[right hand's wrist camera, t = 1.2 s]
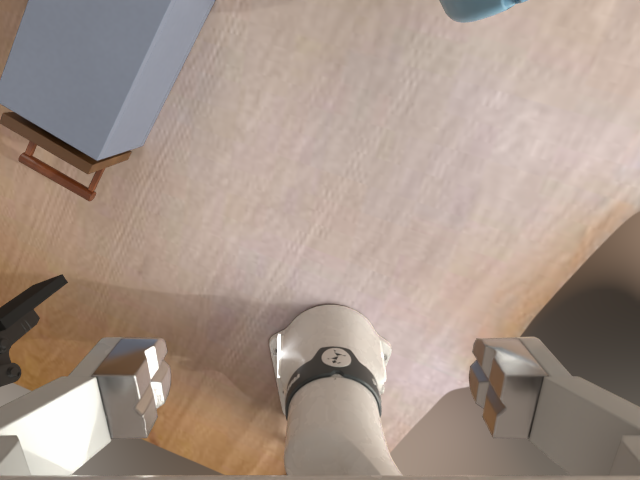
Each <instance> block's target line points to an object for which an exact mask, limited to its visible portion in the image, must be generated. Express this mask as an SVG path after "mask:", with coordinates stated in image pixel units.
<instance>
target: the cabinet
mask: <svg viewBox="0 0 640 480" xmlns="http://www.w3.org/2000/svg"><path fill="white" fill-rule="evenodd" d="M214 2H215V0H29V1H28V3H27V6H26V9H25V12H24V15H23V17H22V20H21V23H20V26H19V29H18V32H17V34H16V37H15V40H14V43H13V46H12V48H11V51H10V54H9V57H8V60H7V63H6V65H5V68H4V71H3V74H2V77H1V79H0V104H2V105H3V106H5V107H7V108H8V109H10V110H12V111H13V112H15V113H17V114H19V115H20V116H22V117H24V118H25V119H27V120H29V121H30V122H32V123H34V124H35V125H37V126H39V127H41V128H42V129H44V130H46V131H47V132H49V133H51V134H52V135H54V136H56V137H58V138H59V139H61V140H63V141H64V142H66V143H68V144H69V145H71V146H73V147H75V148H76V149H78V150H80V151H81V152H83V153H85V154H86V155H88V156H90V157H91V158H93V159H95V160H97V161H98V160H101V159H104V158H107V157H110V156H113V155H116V154H119V153H123V152H126V151H129V150H132V149H135V148H138V147H141V146H143V145H144V143H145V141H146V139H147V137H148V135H149V133H150V131H151V129H152V127H153V125H154V123H155V121H156V119H157V117H158V115H159V113H160V111H161V109H162V107H163V105H164V103H165V101H166V99H167V97H168V95H169V93H170V91H171V89H172V87H173V85H174V83H175V81H176V79H177V77H178V75H179V73H180V70H181V68H182V66H183V64H184V62H185V60H186V58H187V56H188V54H189V52H190V50H191V48H192V46H193V44H194V42H195V40H196V38H197V36H198V34H199V32H200V30H201V28H202V26H203V24H204V22H205V20H206V18H207V16H208V14H209V12H210V10H211V8H212V6H213V4H214Z"/></svg>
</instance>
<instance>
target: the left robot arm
mask: <svg viewBox="0 0 640 480" xmlns="http://www.w3.org/2000/svg"><path fill="white" fill-rule="evenodd" d="M439 1H440V3H441V5H442V7H443V9H444V11H445V13H446V14H447V15H448V16H449V17H450V18H451V19H452V20H454V21H457V22H473V21H477V20H481V19H484V18H487V17H490V16H493V15H496V14H498V13H500V12H503V11H505V10H507V9H509V8H511V7H512V6H514V5H515V4H518V3H522V2H525V1H527V0H439ZM66 283H68V282H67V281H66V279H65V278H64V276H63V275H59V276H57V277H54V278H51V279H48V280H46V281H43V282H40V283H38V284H35V285H33V286H31V287H30V288H28V289H27V290H25V291H24V292H22V293H21V294H19V295H18V296H17V297H15V298H14V299H12V300H11V301H9V302H8V303H6V304H5V305H3V306H2V307H1V308H0V387H1V386H4V385H7V384H10V383H13V382H16V381H17V380H18V379H19V378H20V376H21V369H20V367H19V366H18V365H17V364H15V363H11V361H10V358H9V349H10V348H11V345H12V344H13V343H15V342H16V341H17V340H18V339H19V338H21V337H22V336H23V335H24V334H26V332H28V331H29V330H30V329H31V328H33V327H34V326H35V325H36V324H37V323H38V321H39V319H40V318H39V316H38V315H37V314H36V312H35V311H34V308H35V307H36V306H38V305H39V304H40V303H42V302H43V301H44V300H46V299H47V298H48V297H50V296H51V295H52V294H53V293H55V292H56V291H57V290H59V289H60V288H61V287H63V286H64V285H65V284H66Z"/></svg>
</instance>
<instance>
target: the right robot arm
mask: <svg viewBox="0 0 640 480" xmlns="http://www.w3.org/2000/svg"><path fill="white" fill-rule="evenodd" d="M269 347H270V352H271V357H272V362H273V367H274V372H275V377H276V382H277V387H278V392H279V397H280V402H281V407H282V411H283V414H284V415H285V416H286V419H287V429H286V439H285V449H284V466H285V470H286V474H287V475H71V474H72V473H74V472H75V471H76V470H77V469H78V468H79V467H81V466H82V465H83V464H84V463H85V462H87V461H88V460H89V459H90V458H91V457H93V456H94V455H95V454H96V453H97V452H99V451H100V450H101V449H102V448H103V447H105V446H106V445H107V444H108V443H109V442H111V439H133V438H147V437H148V435H149V433H150V431H151V429H152V427H153V425H154V423H155V421H156V419H157V417H158V416H157V410H156V409H157V408H158V407H160V406H161V405H163V404H164V403H165V401H166V399H167V397H168V394H169V390H170V385H171V371H170V366H169V365H168V364H167V363H166V362H165V361H164V360H163V359H164V357H165V356H166V354H167V352H168V351H167V346H166V341H165V340H164V339H163V338H143V337H125V338H124V337H105V338H102V339H101V340H100V341H99V342H98V343H97V344H96V345H95V346H94V347H93V349H92V350H91V351H90V352H89V353H88V354H87V355H86V356H85V358H84V359H83V360H82V361H81V362H80V363H79V364H78V365H77V367H76V368H75V369H74V370H73V371H72V372H71V373H70V374H69V376H68V377H60V378H58V379H56V380H54V381H52V382H50V383H48V384H46V385H43V386H41V387H39V388H37V389H35V390H33V391H31V392H29V393H27V394H25V395H23V396H21V397H19V398H17V399H15V400H13V401H11V402H9V403H7V404H5V405H3V406H1V407H0V480H640V407H639V406H637V405H635V404H632V403H630V402H629V401H627V400H625V399H623V398H620V397H619V396H617V395H615V394H612V393H610V392H608V391H606V390H604V389H602V388H600V387H598V386H596V385H594V384H592V383H590V382H588V381H586V380H584V379H582V378H580V377H572V376H571V374H570V373H569V372H568V371H567V370H566V369H565V368H564V367H563V366H562V364H561V363H560V362H559V361H558V360H557V359H556V358H555V356H554V355H553V354H552V353H551V352H550V351H549V350H548V349H547V348H546V346H545V345H544V344H543V343H542V342H541V341H540V340H539V339H538V338H536V337H515V338H476V340H475V342H474V345H473V351H472V352H473V354H474V356H475V357H476V359H477V360H476V361H475V362H474V363H473V364H472V365H471V366H470V371H469V385H470V390H471V394H472V397H473V399H474V401H475V403H476V404H477V405H479V406H480V407H482V408H483V409H484V410H483V416H482V417H483V419H484V421H485V423H486V425H487V427H488V429H489V431H490V433H491V435H492V437H493V438H507V439H529V441H530V442H531V443H532V444H533V445H534V446H536V447H537V448H538V449H539V450H540V451H542V452H543V453H544V454H545V455H546V456H548V457H549V458H550V459H551V460H552V461H553V462H555V463H556V464H557V465H558V466H560V467H561V468H562V469H563V470H564V471H565V472H567V473H568V474H569V475H402V474H401V472H400V471H399V470H398V468H397V467H396V465H395V463H394V461H393V460H392V458H391V456H390V453H389V450H388V447H387V443H386V440H385V436H384V433H383V429H382V424H381V420H380V417H381V395H380V394H383V393H384V385H383V383H384V382H386V370H385V368H386V365H387V362H388V360H389V357H390V355H391V352H392V349H391V345H390V343H389V342H388V341H386V340H385V339H384V338H382V337H381V336H379V335H378V334H377V333H376V331H375V330H374V328H373V326H372V325H371V323H370V322H369V321H368V320H367V319H366V318H365V317H364V316H363V315H362V314H360V313H359V312H357V311H355V310H353V309H351V308H348V307H345V306H340V305H321V306H317V307H313V308H311V309H308V310H306V311H304V312H303V313H301V314H300V315H299V316H297V317H296V318H295V319H294V320H293V321H292V322H291V324H290V325H289V326H288V327H287V328H286V329H285V330H282V331H280V332H278V333H276V334H274V335H273V336H272V337H271V338H270V340H269ZM277 348H278V350H276V349H277Z"/></svg>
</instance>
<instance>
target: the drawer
mask: <svg viewBox="0 0 640 480" xmlns="http://www.w3.org/2000/svg"><path fill="white" fill-rule="evenodd" d="M0 124H2V125H4V126H6V127H7V128H9V129H11V130H12V131H14V132H16V133H18V134H19V135H21V136H23V137H25V138H26V139H28V140H30V141H29V144H28V146H27V149H26V151H25V152H24V153H22V154H21V155H20V157H19V162H21V163H23V164H24V165H26V166H28V167H30V168H31V169H33V170H35V171H37V172H38V173H40V174H42V175H44V176H46V177H47V178H49V179H51V180H53V181H54V182H56V183H58V184H60V185H61V186H63V187H65V188H67V189H69V190H70V191H72V192H74V193H76V194H77V195H79V196H81V197H83V198H84V199H86V200H88V201H92V200H93V199H94V197H95V195H96V192H95V189H96V187H97V184H98V182H99V180H100V178H101V176H102V174H103V172H104V170H105V168H106V167H109V166H112V165H114V164H117V163H120V162H123V161H125V160H128V158H129V156H130V154H131V151H130V150H129V151H126V152H123V153H119V154H116V155H113V156H110V157H107V158H104V159H101V160H98V161H97V160H95V159H93V158H91V157H90V156H88V155H86V154H85V153H83V152H81V151H80V150H78V149H76V148H75V147H73V146H71V145H69V144H68V143H66V142H64V141H63V140H61V139H59V138H58V137H56V136H54V135H52V134H51V133H49V132H47V131H46V130H44V129H42V128H41V127H39V126H37V125H35V124H34V123H32V122H30V121H29V120H27V119H25V118H24V117H22V116H20V115H19V114H17V113H15V112H8V113H3V115H2V117H1V120H0ZM37 145H38V146H40V147H42V148H44V149H45V150H47V151H49V152H50V153H52V154H54V155H56V156H57V157H59V158H61V159H63V160H64V161H66V162H68V163H69V164H71V165H73V166H75V167H76V168H78V169H80V170H81V171H83V172H85V173H87V174H90V173H93V172H95V175H94V177H93V179H92V181H91V183H90V185H89V187H86V186H84V185H82V184H81V183H79V182H77V181H75V180H74V179H72V178H70V177H68V176H67V175H65V174H63V173H61V172H60V171H58V170H56V169H54V168H53V167H51V166H49V165H47V164H46V163H44V162H42V161H40V160H39V159H37V158H35V157H33V156H32V155H33V154H34V151H35V149H36V146H37Z"/></svg>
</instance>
